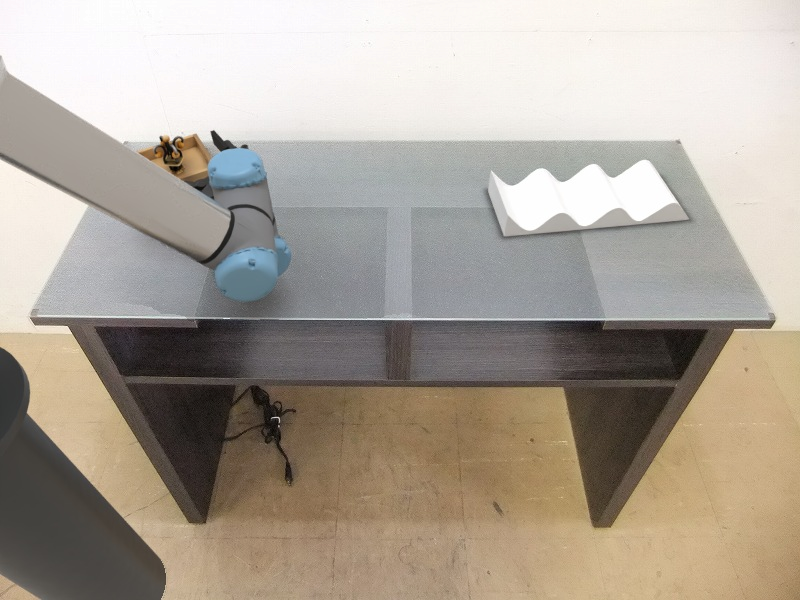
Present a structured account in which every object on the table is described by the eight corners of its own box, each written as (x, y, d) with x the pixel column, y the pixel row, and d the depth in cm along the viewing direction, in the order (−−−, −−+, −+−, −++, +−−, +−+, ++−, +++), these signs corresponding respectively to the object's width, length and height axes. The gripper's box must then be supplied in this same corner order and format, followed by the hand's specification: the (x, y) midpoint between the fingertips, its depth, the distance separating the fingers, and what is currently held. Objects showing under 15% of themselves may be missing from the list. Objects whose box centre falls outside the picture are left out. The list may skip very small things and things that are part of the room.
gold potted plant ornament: (158, 176, 119) (149, 141, 113) (166, 162, 122) (157, 127, 116) (183, 178, 119) (175, 143, 113) (189, 164, 122) (182, 129, 116)
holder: (153, 202, 115) (147, 189, 112) (135, 166, 122) (130, 152, 120) (221, 180, 119) (217, 166, 117) (200, 146, 127) (196, 133, 124)
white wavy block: (689, 219, 110) (699, 197, 106) (503, 236, 108) (507, 214, 104) (659, 176, 119) (668, 154, 115) (487, 191, 116) (490, 169, 112)
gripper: (160, 259, 95) (117, 191, 106) (299, 200, 104) (245, 144, 116) (145, 223, 89) (101, 155, 100) (293, 165, 98) (237, 109, 110)
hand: (178, 149), depth 108 cm, fingers open, 13 cm apart
